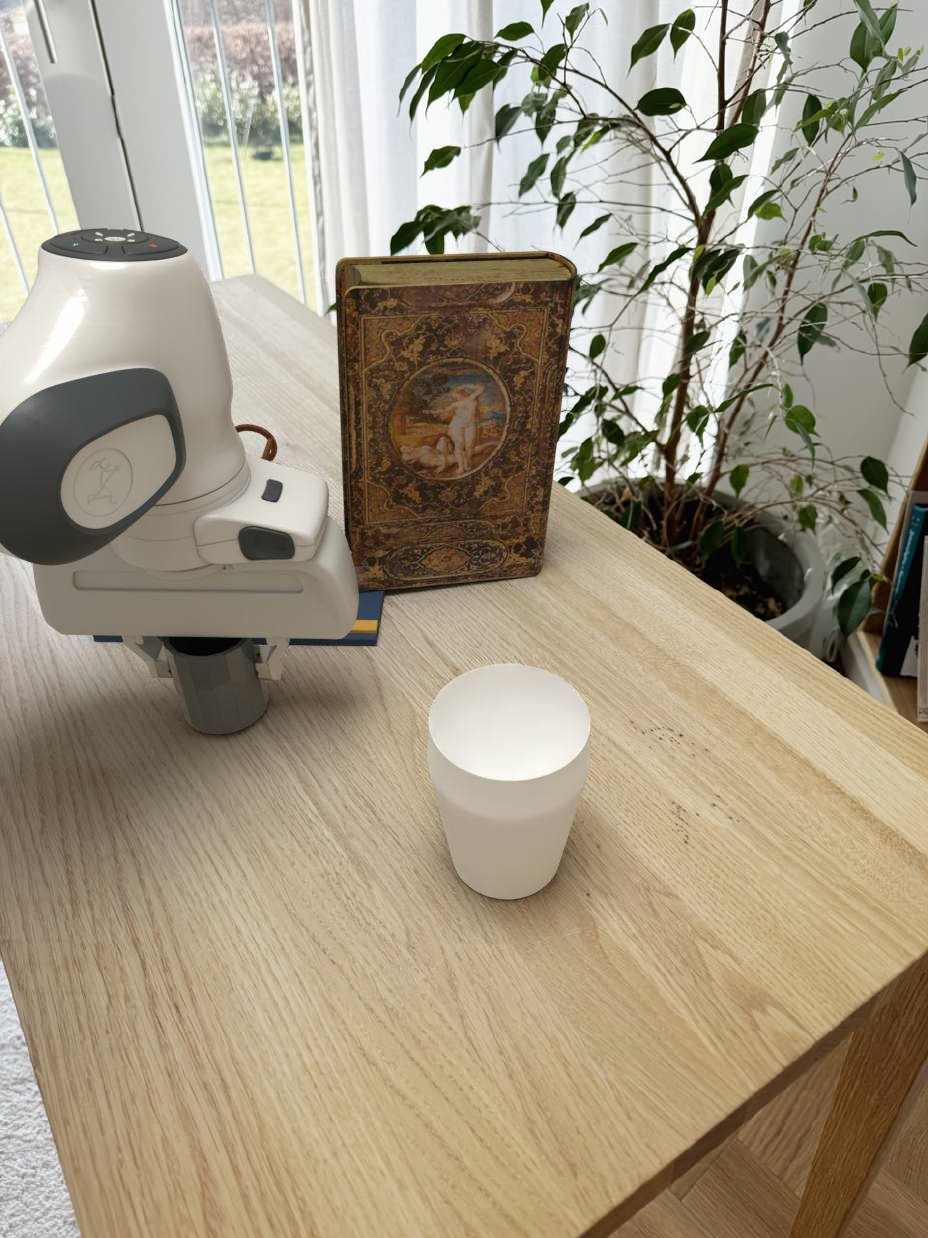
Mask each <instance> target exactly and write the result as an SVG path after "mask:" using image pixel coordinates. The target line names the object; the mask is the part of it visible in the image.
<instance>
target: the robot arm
mask: <svg viewBox="0 0 928 1238" xmlns="http://www.w3.org/2000/svg"><path fill="white" fill-rule="evenodd" d="M37 252H38V253H37V268H36V269H37V271H36V276H35V278H34V281H33V284H32V286H31V288H30V291H28V294H27V297H26V299H25V300H24V302H23V305H21V308H20V309H19V311H18V312H17V313H16V315H15V317H14V318H13V319H12V321H11V322H10V323H9V325H8V326H7V327H6V329H5V330H4V331H3V332H2V333H1V335H0V553H1V554H4V555H6V556H9V557H12V558H14V559H18V560H22V561H25V562H27V563H30V564H32V570H33V571H32V572H33V579H34V585H35V590H36V595H37V599H38V604H39V607H40V610H41V613H42V617H43V619H44V621H45V623H46V624H47V625H48V626H49V627H51V628H52V629H53V630H55V631H56V632H57V633H59V634H60V635H64V636H65V635H66V636H92V635H114V636H122V639H123V642H122V643H123V645H124V646H126V647H127V648H128V649H129V650H130V651H131V652H133V653H134V654H135V655H136V656H137V657H139V658H140V659H141V660H142V661H143V662H146V665H147V667H148V671H149V674H150V677H151V678H152V679H173V677H172V674H171V670H170V667H169V663H168V660H167V656H166V653H165V649H164V645H163V642H161V641H160V640H159V639H158V638H157V637H156V636H178V637H242V638H266V641H267V644H266V645H259V652H258V654H259V656H257V659H256V661H255V668H256V671H257V672H258V674H257V678H258V679H260V680H266V681H280V680H281V677H282V673H283V670H284V658H283V656H284V654H285V652H286V651H287V649H288V648H289V646H290V644H289V641H290V638H306V639H342V638H344V637H345V636H346V635H347V634H348V633H349V632H350V631H351V629H352V628H353V627H354V625H355V621H356V617H357V612H358V604H359V592H358V584H357V578H356V573H355V568H354V564H353V559H352V556H351V551H350V549H349V545H348V542H347V539H346V536H345V531H344V530H343V528H342V527H341V525H340V524H339V523H338V522H337V521H336V520H335V519H334V518H333V517H331V515H329V507H330V490H329V486H328V485H329V484H328V483H327V481H326V479H324V478H323V477H321V476H320V475H317V474H315V473H311V472H307V471H304V470H300V469H297V468H293V467H290V466H286V465H283V464H279V463H276V462H273V461H271V462H270V461H267V460H264V459H262V458H261V457H259V456H256V455H253V454H251V453H249V452H246V450H245V445H244V443H243V440H242V438H241V436H240V435H239V433H238V432H237V430H236V429H235V424H234V420H233V416H232V404H233V395H234V384H233V383H234V382H233V377H232V372H231V365H230V360H229V355H228V351H227V350H228V349H227V347H226V346H227V345H226V340H225V336H224V333H223V327H222V324H221V319H220V316H219V312H218V309H217V306H216V302H215V299H214V296H213V293H212V290H211V287H210V284H209V282H208V279H207V277H206V274H205V273H204V270H203V268H202V267H201V265H200V263H199V261H198V259H197V258H196V257H195V255H194V254H193V252H192V251H191V250H190V249H189V248H187V247H186V246H185V245H183V244H182V243H180V242H179V241H177V240H175V239H173V238H169V237H165V236H163V235H159V234H154V233H150V232H147V231H141V230H134V229H129V228H128V229H127V228H123V229H118V228H106V227H100V228H83V229H75V230H71V231H66V232H62V233H57V234H56V235H54V236H52V237H51V238H49V239H46V240H45V241H43V242H42V243H41V244H40V245H39V247H38V251H37Z"/></svg>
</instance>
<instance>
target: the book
mask: <svg viewBox="0 0 928 1238" xmlns="http://www.w3.org/2000/svg"><path fill="white" fill-rule="evenodd" d="M335 264H336V265H335V269H334V270H335V271H334V273H335V274H334V283H335V284H334V285H335V286H334V288H335V313H336V314H335V316H336V340H337V341H336V342H337V344H336V345H337V367H338V392H339V393H338V394H339V395H338V397H339V420H340V421H339V422H340V448H341V450H340V451H341V473H342V474H341V475H342V499H343V500H342V501H343V503H342V505H343V523H344V534H345V536H346V539H347V542H348V545H349V549H350V552H351V556H352V559H353V564H354V568H355V573H356V578H357V584H358V589H360V590H363V591H368V590H385V591H386V590H401V589H402V590H403V589H409V588H412V589H413V588H419V587H420V588H421V587H422V588H423V587H431V586H441V585H451V584H453V585H454V584H461V583H462V584H463V583H472V582H473V583H475V582H483V581H494V580H495V581H496V580H504V579H515V578H526V577H535V576H537V575H538V574H540V572H541V571H542V569H543V565H544V564H543V563H544V556H545V548H546V541H547V533H548V532H547V531H548V523H549V513H550V505H551V499H552V498H551V497H552V489H553V480H554V471H555V466H556V465H555V463H556V454H557V447H558V439H559V431H560V421H561V414H562V407H563V406H562V405H563V396H564V388H565V379H566V373H567V372H566V371H567V364H568V363H567V362H568V354H569V347H570V340H571V339H570V338H571V330H572V321H573V312H574V306H575V305H574V304H575V298H576V297H575V296H576V287H577V279H578V268H577V266H576V264H575V263H574V262H573V261H572V260H571V259H569V258H568V257H566V256H564V255H562V254H560V253H556V252H553V251H548V250H531V251H530V250H529V251H501V252H499V251H498V252H472V253H471V252H470V253H469V252H468V253H442V254H439V253H438V254H410V255H408V254H407V255H381V256H379V255H377V256H352V257H351V256H350V257H349V256H348V257H346V256H345V257H342V258H340V259H339V260H338V261H337V262H336V263H335Z"/></svg>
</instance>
